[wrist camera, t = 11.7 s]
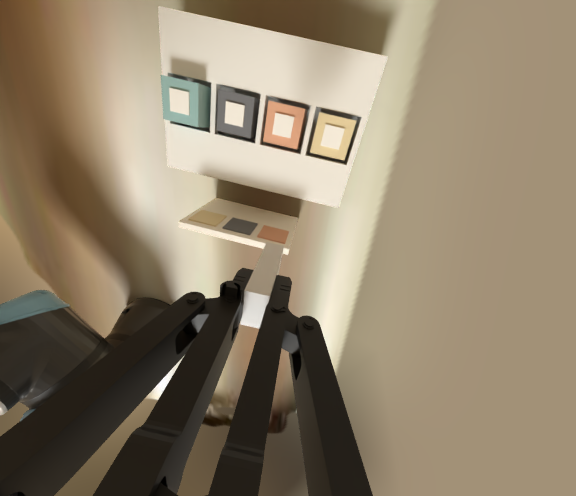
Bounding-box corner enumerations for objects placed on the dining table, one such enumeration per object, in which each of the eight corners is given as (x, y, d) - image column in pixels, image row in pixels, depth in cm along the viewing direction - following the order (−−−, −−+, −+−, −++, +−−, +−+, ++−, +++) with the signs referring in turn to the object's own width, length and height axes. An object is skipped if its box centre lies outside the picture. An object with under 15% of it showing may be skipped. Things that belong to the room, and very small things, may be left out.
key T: (311, 149, 30) (309, 152, 27) (319, 114, 28) (319, 111, 25) (341, 157, 30) (344, 160, 26) (352, 121, 28) (356, 120, 24)
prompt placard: (216, 202, 37) (178, 227, 28) (216, 196, 37) (178, 220, 27) (297, 222, 37) (287, 254, 27) (298, 216, 37) (289, 247, 27)
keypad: (187, 161, 35) (167, 166, 31) (184, 25, 27) (157, 5, 23) (336, 198, 34) (338, 208, 30) (377, 68, 27) (388, 56, 22)
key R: (182, 120, 29) (162, 119, 26) (181, 81, 27) (159, 74, 24) (213, 127, 29) (197, 127, 26) (214, 89, 27) (197, 82, 24)
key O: (229, 130, 31) (216, 130, 27) (231, 93, 29) (217, 88, 25) (258, 137, 30) (249, 138, 27) (263, 101, 28) (254, 97, 25)
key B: (270, 140, 30) (262, 141, 27) (275, 104, 28) (268, 100, 25) (300, 147, 30) (296, 149, 27) (307, 111, 28) (305, 108, 25)
